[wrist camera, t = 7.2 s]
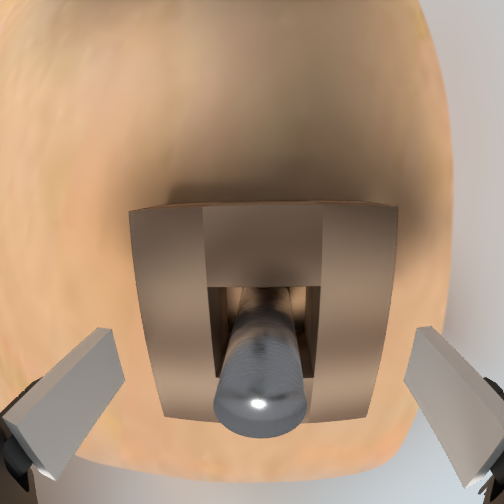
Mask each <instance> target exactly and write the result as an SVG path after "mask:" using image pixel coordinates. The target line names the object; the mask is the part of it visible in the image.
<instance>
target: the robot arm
mask: <svg viewBox="0 0 504 504" xmlns="http://www.w3.org/2000/svg"><path fill="white" fill-rule="evenodd" d="M124 381H125V377H124V374H123V371H122V367H121V364H120V360H119V356H118V353H117V349H116V345H115V341H114V336H113V332H112V329H106V328H97V329H96V330H94V331H93V332H92V333H91V334H90V335H89V336H88V337H86V338H85V339H84V340H83V341H82V342H81V343H80V344H79V345H78V346H76V347H75V348H74V349H73V350H72V351H71V352H70V353H69V354H68V355H66V356H65V357H64V358H63V359H62V360H61V361H60V362H59V363H58V364H57V365H56V366H54V367H53V368H52V369H51V370H50V371H49V372H48V373H47V374H46V375H45V376H44V377H41V378H39V379H38V380H36V381H34V382H32V383H31V384H30V385H29V386H28V387H27V388H26V389H25V391H22V392H21V393H20V394H19V397H16V398H15V399H14V400H13V401H12V402H11V403H10V404H9V405H8V406H7V407H6V408H5V409H4V410H3V411H2V412H1V413H0V504H38V502H37V496H36V490H35V483H34V475H33V472H32V470H31V468H30V466H31V465H32V463H33V464H34V465H35V466H36V467H37V469H38V470H39V471H40V473H42V474H44V475H46V476H47V477H49V478H51V479H53V480H55V481H57V480H58V478H59V477H60V475H61V474H62V472H63V471H64V469H65V467H66V466H67V464H68V463H69V461H70V460H71V458H72V457H73V455H74V454H75V452H76V451H77V449H78V448H79V446H80V445H81V443H82V442H83V440H84V439H85V437H86V436H87V435H88V433H89V432H90V430H91V429H92V427H93V426H94V424H95V423H96V421H97V420H98V418H99V417H100V416H101V414H102V413H103V411H104V410H105V408H106V407H107V405H108V404H109V403H110V401H111V400H112V398H113V397H114V395H115V394H116V393H117V391H118V390H119V388H120V387H121V386H122V384H123V383H124ZM404 382H405V384H406V385H407V387H408V388H409V390H410V392H411V393H412V395H413V397H414V398H415V400H416V402H417V403H418V405H419V407H420V408H421V410H422V412H423V414H424V415H425V417H426V419H427V420H428V422H429V424H430V426H431V427H432V429H433V431H434V433H435V434H436V436H437V438H438V440H439V441H440V443H441V445H442V447H443V449H444V451H445V452H446V454H447V456H448V458H449V460H450V462H451V464H452V466H453V468H454V470H455V472H456V473H457V475H458V477H459V479H460V481H461V483H462V485H463V487H464V488H466V487H469V486H470V485H473V484H475V483H477V482H479V481H480V480H482V478H483V477H484V476H485V475H486V474H487V472H488V471H489V470H491V472H492V474H493V475H492V476H491V477H490V479H489V480H488V481H487V482H486V483H485V484H484V486H482V488H481V489H480V490H479V492H478V494H481V493H482V492H483V491H484V490H485V489H486V488H487V490H486V492H485V493H484V495H485V498H484V502H483V504H504V393H503V390H502V389H501V388H500V387H499V386H498V385H497V384H496V383H495V382H493V381H492V380H490V379H488V378H486V377H485V378H482V376H481V375H479V373H478V372H477V371H476V370H475V369H474V368H473V367H472V366H471V365H470V364H469V363H468V362H467V361H466V360H465V359H464V358H463V357H462V356H461V355H460V354H459V353H458V352H457V351H456V350H455V349H454V348H453V347H452V346H451V345H450V344H449V343H448V342H447V341H446V340H445V339H444V338H443V337H442V336H441V335H440V334H439V333H438V332H437V331H436V330H435V329H434V328H433V327H432V326H428V327H421V328H417V330H416V335H415V339H414V343H413V348H412V352H411V356H410V360H409V363H408V367H407V371H406V374H405V378H404Z"/></svg>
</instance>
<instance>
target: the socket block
mask: <svg viewBox="0 0 504 504" xmlns="http://www.w3.org/2000/svg"><path fill="white" fill-rule="evenodd" d="M129 222H130V234H131V245H132V255H133V263H134V272H135V279H136V286H137V293H138V300H139V306H140V312H141V318H142V323H143V329H144V334H145V339H146V344H147V349H148V354H149V358H150V363H151V367H152V371H153V375H154V380H155V384H156V387H157V391H158V395H159V399H160V403H161V406H162V410H163V413H164V417H171V418H178V419H186V420H195V421H206V422H218V423H221V422H220V421H219V420H218V418H217V417H216V415H215V412H214V408H213V402H214V397H215V394H216V390H217V386H218V382H219V379H220V375H221V371H222V367H223V363H224V360H225V356H226V352H227V348H228V344H229V341H230V337H231V333H228V321H227V305H226V288H225V287H294V286H306V307H305V328H304V333H296V336H297V343H298V349H299V355H300V361H301V368H302V374H303V381H304V387H305V394H306V401H307V412H306V415H305V417H304V419H303V420H302V422H301V423H318V422H330V421H340V420H349V419H357V418H364V417H366V415H367V412H368V408H369V405H370V401H371V398H372V394H373V390H374V386H375V382H376V378H377V374H378V369H379V365H380V360H381V355H382V351H383V345H384V340H385V335H386V329H387V323H388V317H389V310H390V304H391V296H392V288H393V279H394V270H395V259H396V246H397V228H398V207H397V206H391V205H385V204H379V203H372V202H366V201H331V200H276V201H231V202H205V203H185V204H168V205H161V206H155V207H149V208H144V209H139V210H133V211H129ZM301 423H300V424H301Z"/></svg>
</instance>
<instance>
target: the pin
mask: <svg viewBox="0 0 504 504" xmlns="http://www.w3.org/2000/svg"><path fill="white" fill-rule="evenodd" d="M213 408H214V412H215V415H216V417H217V418H218V420H219V421H220V422H221V423H222V424H223V425H224V426H225V427H226V428H228V429H229V430H231V431H232V432H234V433H237V434H239V435H242V436H246V437H251V438H272V437H277V436H280V435H283V434H286V433H288V432H290V431H291V430H293V429H294V428H296V427H297V426H298V425H299V424H300V423H301V422H302V420H303V419H304V417H305V415H306V412H307V401H306V394H305V387H304V381H303V374H302V368H301V361H300V355H299V349H298V343H297V336H296V330H295V324H294V319H293V313H292V307H291V301H290V295H289V291H288V289H287V287H244V289H243V292H242V295H241V299H240V303H239V307H238V310H237V314H236V318H235V322H234V326H233V329H232V333H231V337H230V341H229V344H228V348H227V352H226V356H225V360H224V363H223V367H222V371H221V375H220V379H219V382H218V386H217V390H216V394H215V397H214V402H213Z"/></svg>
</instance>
